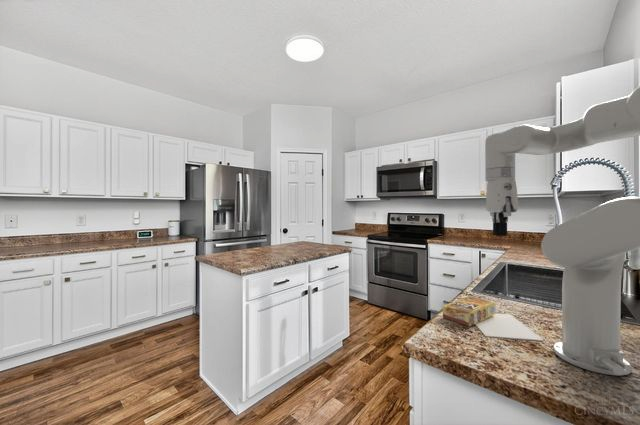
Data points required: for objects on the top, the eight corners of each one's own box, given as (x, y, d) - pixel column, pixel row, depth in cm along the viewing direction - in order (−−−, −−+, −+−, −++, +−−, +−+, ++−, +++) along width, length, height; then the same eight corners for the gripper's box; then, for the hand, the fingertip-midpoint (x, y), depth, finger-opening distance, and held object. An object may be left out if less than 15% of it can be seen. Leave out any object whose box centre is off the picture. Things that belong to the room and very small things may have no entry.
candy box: (495, 301, 87) (468, 313, 79) (496, 314, 87) (469, 327, 79) (468, 295, 95) (441, 305, 87) (469, 307, 95) (442, 318, 87)
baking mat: (543, 341, 71) (543, 340, 71) (485, 336, 74) (485, 335, 74) (510, 315, 88) (510, 314, 88) (464, 312, 91) (464, 311, 91)
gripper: (528, 171, 73) (528, 238, 73) (501, 177, 87) (501, 233, 88) (497, 172, 74) (497, 238, 74) (476, 178, 89) (476, 233, 89)
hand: (500, 235), depth 81 cm, fingers closed
